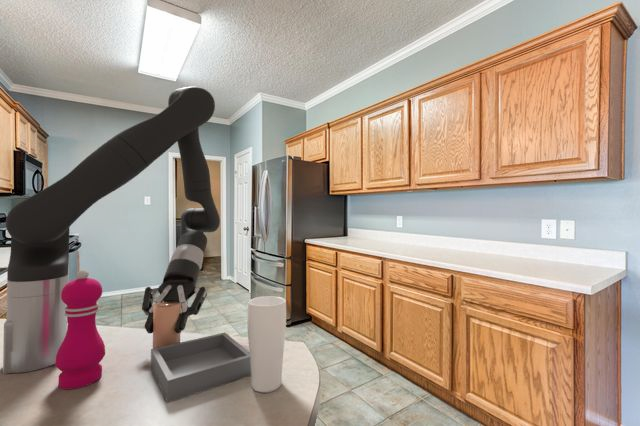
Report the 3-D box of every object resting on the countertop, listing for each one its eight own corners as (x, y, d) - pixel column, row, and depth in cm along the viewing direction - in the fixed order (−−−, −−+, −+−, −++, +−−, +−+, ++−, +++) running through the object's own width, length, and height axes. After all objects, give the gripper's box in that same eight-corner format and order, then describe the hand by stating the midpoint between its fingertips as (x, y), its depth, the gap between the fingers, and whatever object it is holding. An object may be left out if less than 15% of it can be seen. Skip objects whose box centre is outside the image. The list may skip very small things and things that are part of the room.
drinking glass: (278, 399, 51) (279, 307, 51) (240, 394, 52) (240, 304, 53) (290, 378, 58) (291, 296, 58) (256, 374, 59) (256, 294, 59)
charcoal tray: (167, 402, 50) (167, 380, 50) (150, 366, 62) (151, 349, 62) (253, 374, 59) (254, 355, 59) (224, 347, 71) (225, 332, 71)
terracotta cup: (155, 358, 64) (156, 308, 64) (150, 349, 69) (151, 303, 69) (182, 351, 68) (183, 304, 68) (176, 343, 72) (177, 299, 72)
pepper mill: (64, 374, 59) (66, 267, 59) (109, 367, 61) (111, 266, 62) (46, 394, 52) (49, 274, 52) (98, 386, 55) (100, 272, 55)
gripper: (150, 257, 75) (121, 323, 63) (211, 257, 76) (193, 323, 64) (160, 275, 81) (134, 339, 68) (216, 275, 82) (201, 339, 69)
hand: (163, 331), depth 66 cm, fingers closed on terracotta cup, 5 cm apart
